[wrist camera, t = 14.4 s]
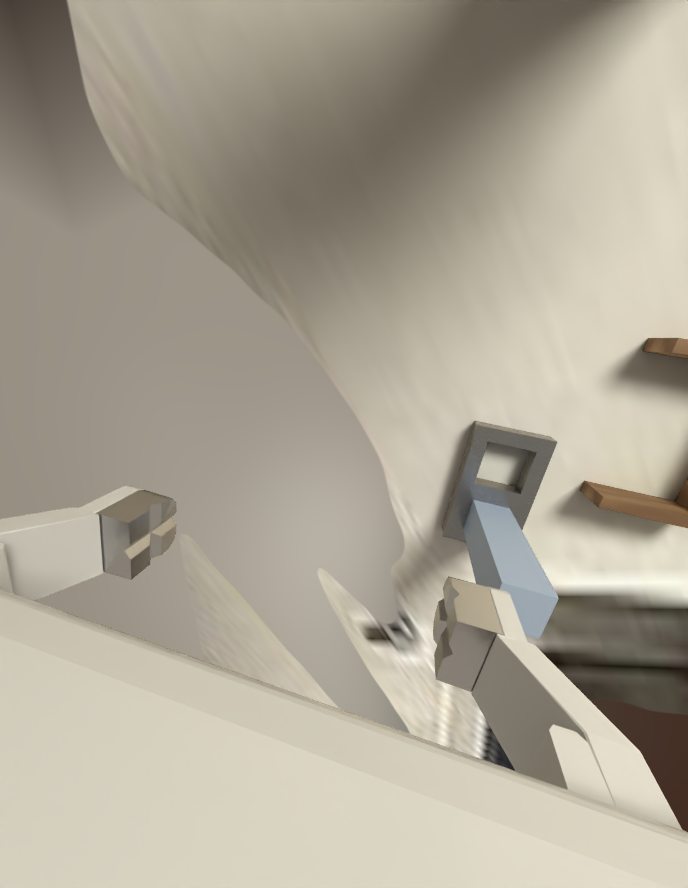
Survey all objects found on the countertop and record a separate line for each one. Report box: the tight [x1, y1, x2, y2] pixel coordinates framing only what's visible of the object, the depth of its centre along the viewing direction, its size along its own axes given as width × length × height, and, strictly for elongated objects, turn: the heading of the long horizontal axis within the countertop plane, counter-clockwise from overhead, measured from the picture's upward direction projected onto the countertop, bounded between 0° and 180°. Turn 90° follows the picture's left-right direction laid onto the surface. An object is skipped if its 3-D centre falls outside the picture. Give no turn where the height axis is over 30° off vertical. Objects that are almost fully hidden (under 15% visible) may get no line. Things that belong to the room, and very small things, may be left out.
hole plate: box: [442, 421, 557, 542], centre depth 38 cm, size 14×8×2 cm, turn 170°
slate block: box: [463, 500, 559, 639], centre depth 32 cm, size 4×4×14 cm
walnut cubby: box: [580, 338, 688, 528], centre depth 32 cm, size 16×10×4 cm, turn 170°
